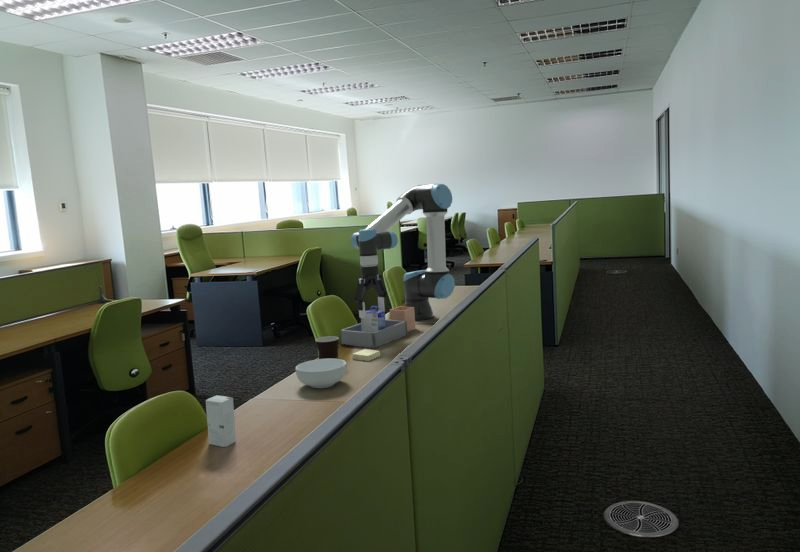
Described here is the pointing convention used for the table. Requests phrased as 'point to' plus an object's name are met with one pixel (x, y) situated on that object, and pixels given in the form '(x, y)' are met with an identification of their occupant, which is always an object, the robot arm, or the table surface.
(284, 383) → the table surface
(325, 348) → the coffee mug
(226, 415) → the skincare box
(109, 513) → the table surface
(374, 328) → the ink cartridge box
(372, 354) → the sticky note pad
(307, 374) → the cereal bowl
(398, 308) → the pen holder
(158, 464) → the table surface
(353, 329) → the grey bin
